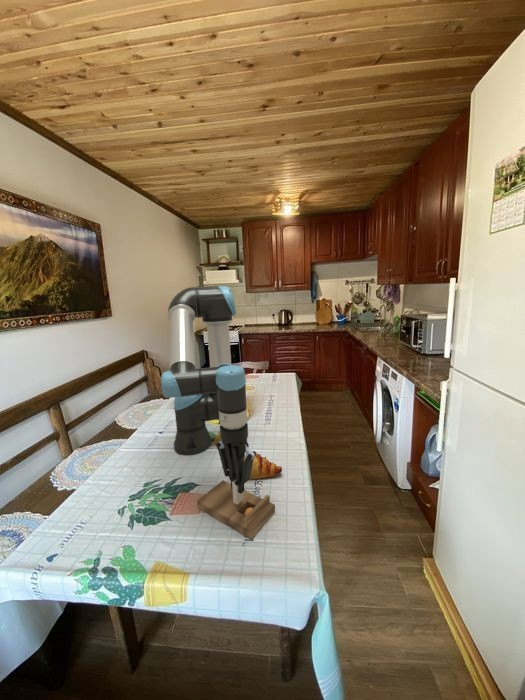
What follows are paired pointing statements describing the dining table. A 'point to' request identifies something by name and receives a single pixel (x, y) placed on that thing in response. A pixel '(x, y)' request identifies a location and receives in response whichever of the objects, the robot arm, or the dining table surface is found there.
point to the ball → (248, 511)
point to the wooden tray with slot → (237, 509)
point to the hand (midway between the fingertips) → (238, 500)
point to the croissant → (263, 468)
